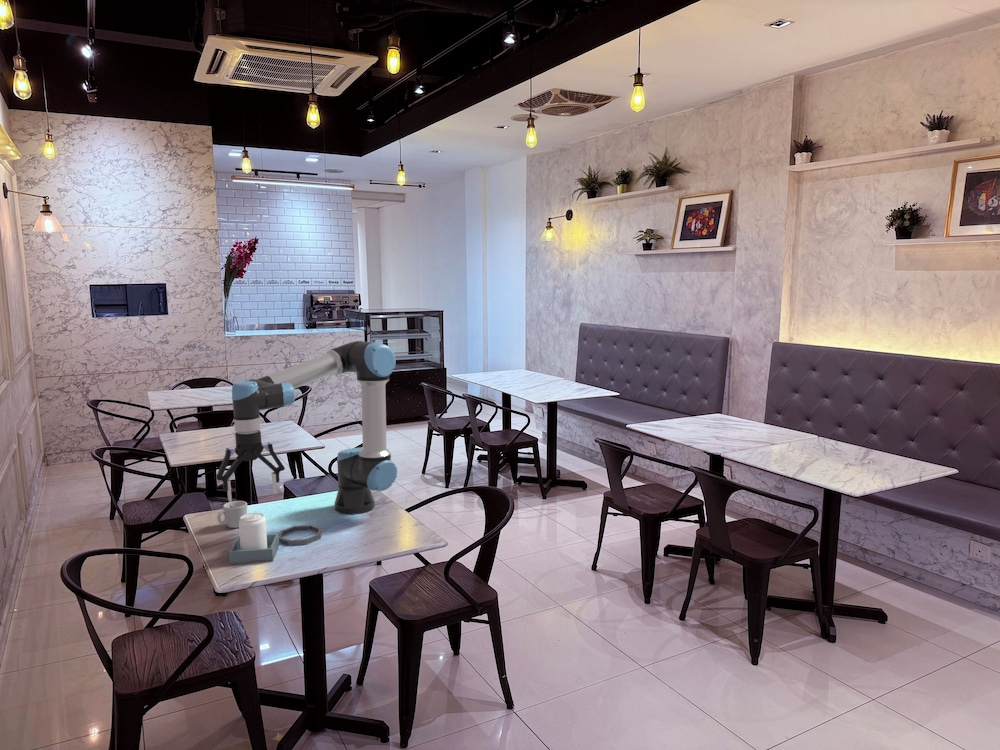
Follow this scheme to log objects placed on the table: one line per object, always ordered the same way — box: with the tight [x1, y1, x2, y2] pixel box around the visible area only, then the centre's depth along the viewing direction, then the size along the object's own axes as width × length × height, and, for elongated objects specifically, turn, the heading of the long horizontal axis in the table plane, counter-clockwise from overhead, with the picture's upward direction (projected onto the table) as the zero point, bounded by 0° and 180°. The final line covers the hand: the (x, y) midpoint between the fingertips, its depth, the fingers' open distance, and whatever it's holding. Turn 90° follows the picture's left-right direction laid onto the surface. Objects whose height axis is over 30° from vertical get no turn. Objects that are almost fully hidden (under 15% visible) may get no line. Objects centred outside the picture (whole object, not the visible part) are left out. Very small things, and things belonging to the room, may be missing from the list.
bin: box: [228, 533, 280, 565], centre depth 214 cm, size 13×13×4 cm
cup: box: [216, 500, 248, 529], centre depth 237 cm, size 11×8×8 cm
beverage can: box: [238, 512, 268, 550], centre depth 213 cm, size 8×8×12 cm
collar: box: [278, 524, 323, 546], centre depth 228 cm, size 14×14×2 cm
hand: (252, 496), depth 212 cm, fingers open, 13 cm apart
